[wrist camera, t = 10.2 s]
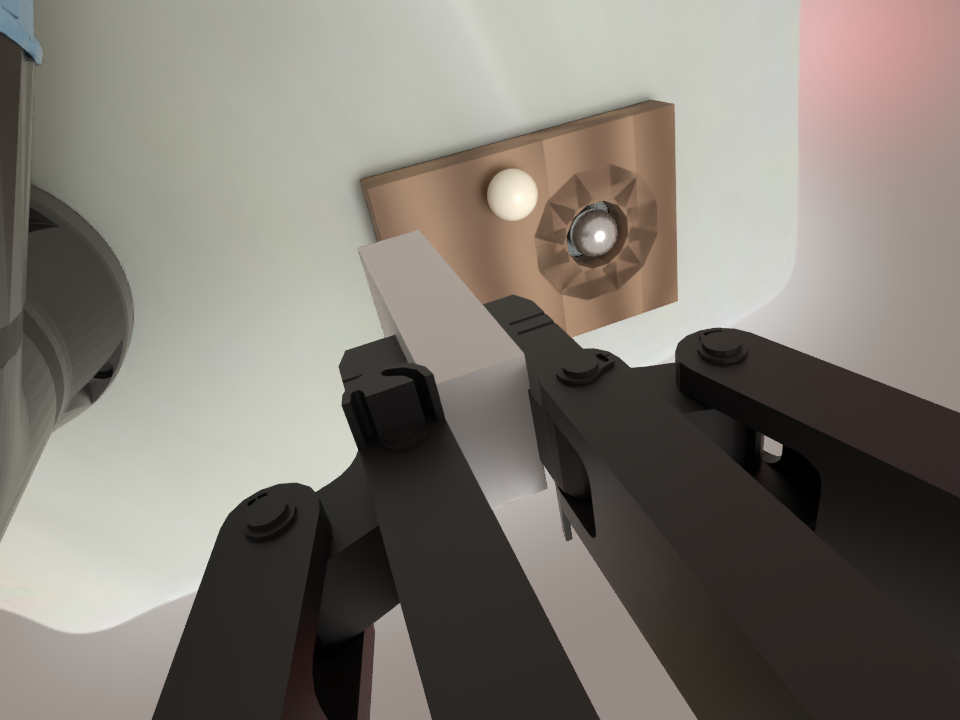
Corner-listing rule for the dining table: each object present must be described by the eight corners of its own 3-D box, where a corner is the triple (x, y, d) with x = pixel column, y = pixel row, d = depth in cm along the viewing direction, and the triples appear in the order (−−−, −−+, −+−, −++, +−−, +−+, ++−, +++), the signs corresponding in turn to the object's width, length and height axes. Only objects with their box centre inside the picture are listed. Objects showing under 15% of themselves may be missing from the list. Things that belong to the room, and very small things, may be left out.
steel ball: (567, 264, 43) (612, 264, 41) (561, 220, 41) (608, 219, 39) (580, 244, 45) (624, 244, 43) (575, 202, 43) (621, 200, 42)
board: (415, 371, 44) (423, 388, 42) (360, 179, 37) (367, 189, 35) (658, 288, 48) (677, 300, 46) (652, 100, 41) (674, 104, 39)
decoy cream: (485, 219, 38) (501, 233, 36) (475, 171, 37) (493, 182, 34) (529, 206, 39) (549, 218, 36) (522, 158, 37) (542, 168, 35)
